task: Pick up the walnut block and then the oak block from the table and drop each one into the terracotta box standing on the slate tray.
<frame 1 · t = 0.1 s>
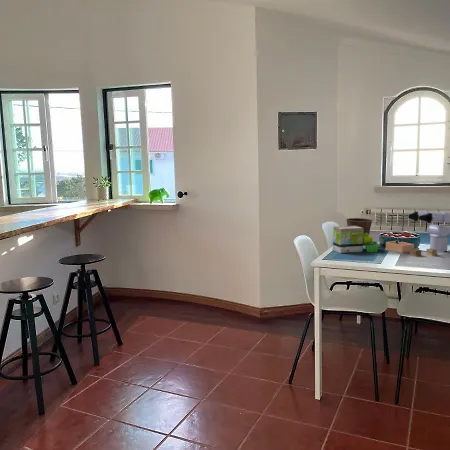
hand: (414, 217, 263), 22 cm above the table, tool horizontal, fingers open, 7 cm apart
tea box: (347, 251, 278), on the table
fruit basket: (370, 251, 276), on the table
slate tray: (402, 251, 273), on the table
plant pot: (358, 244, 298), on the table
oak block: (431, 256, 261), on the table
walnut block: (415, 256, 260), on the table
terracotta box: (399, 250, 274), resting on slate tray
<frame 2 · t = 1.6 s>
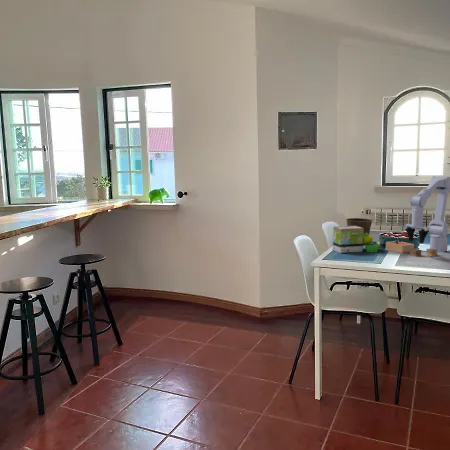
hand: (416, 241, 259), 8 cm above the table, tool pointing down, fingers open, 7 cm apart
nothing on the table moved.
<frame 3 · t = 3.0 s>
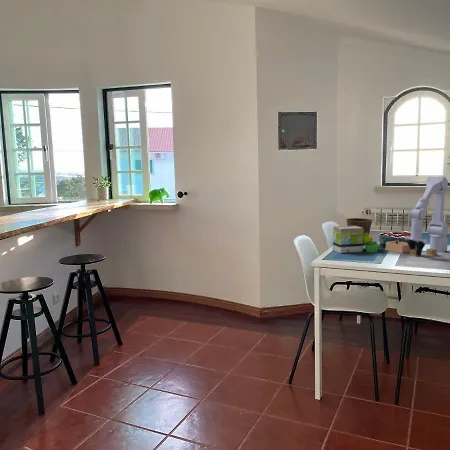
hand: (415, 254, 260), 1 cm above the table, tool pointing down, fingers closed on walnut block, 4 cm apart
walnut block: (415, 256, 260), on the table, touching gripper
everything else where it was.
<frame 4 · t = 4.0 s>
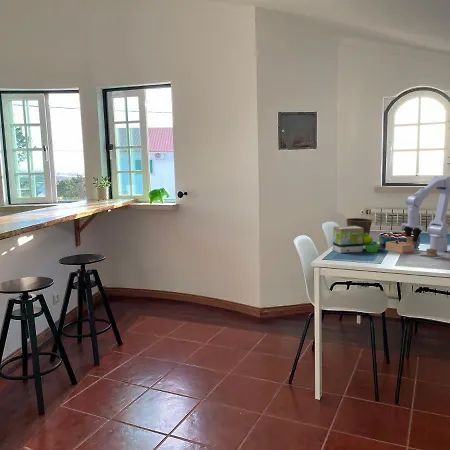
hand: (412, 240, 263), 8 cm above the table, tool pointing down, fingers closed on walnut block, 4 cm apart
walnut block: (411, 243, 263), point 7 cm above the table, touching gripper
everything else where it was.
when the fingers open (7 cm above the table, at t = 5.1 s): walnut block drops 4 cm, resting on terracotta box.
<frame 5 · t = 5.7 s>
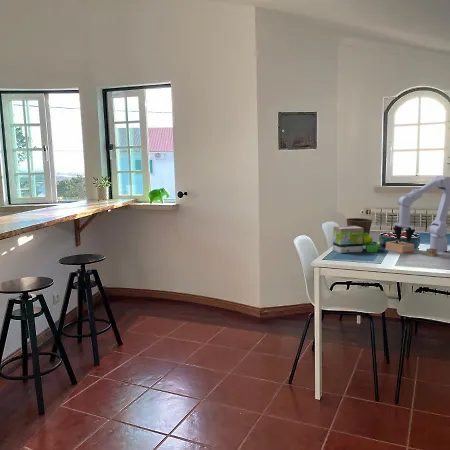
hand: (403, 240, 270), 7 cm above the table, tool pointing down, fingers open, 7 cm apart
walnut block: (402, 250, 271), point 1 cm above the table, touching terracotta box
everything else where it was.
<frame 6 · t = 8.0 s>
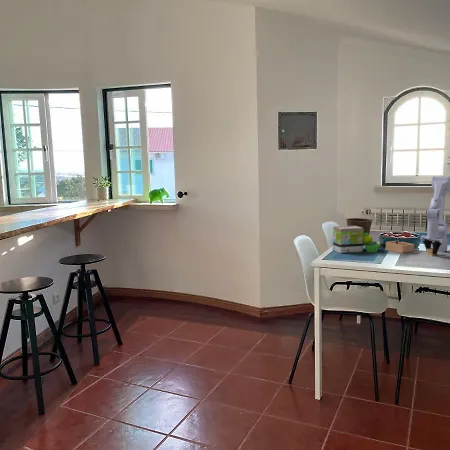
hand: (431, 253, 261), 1 cm above the table, tool pointing down, fingers closed on oak block, 4 cm apart
oak block: (431, 256, 261), on the table, touching gripper
everything else where it was.
when the fingers open (7 cm above the table, at t = 10.7 s): oak block drops 4 cm, resting on terracotta box.
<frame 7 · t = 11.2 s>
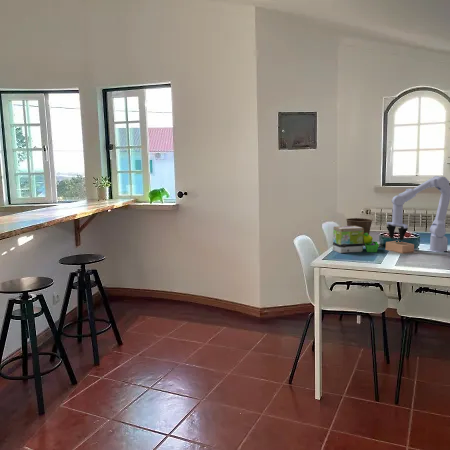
hand: (396, 238, 275), 7 cm above the table, tool pointing down, fingers open, 7 cm apart
oak block: (395, 249, 276), point 1 cm above the table, touching terracotta box
everything else where it was.
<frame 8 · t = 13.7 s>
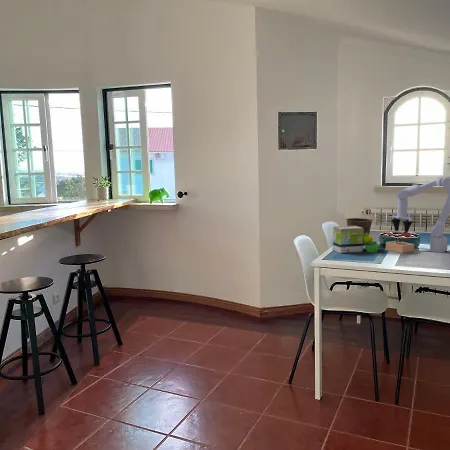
hand: (401, 231, 282), 10 cm above the table, tool pointing down, fingers open, 7 cm apart
nothing on the table moved.
at the end: walnut block inside the target area on the terracotta box (2.7 cm from its centre), point 0.5 cm above the terracotta box's base; oak block inside the target area on the terracotta box (2.7 cm from its centre), point 0.5 cm above the terracotta box's base; the gripper is holding nothing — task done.
